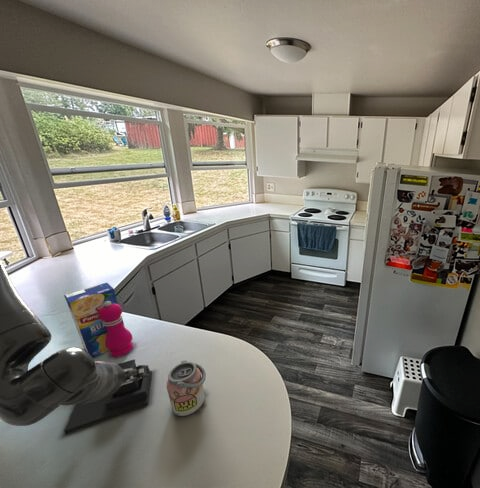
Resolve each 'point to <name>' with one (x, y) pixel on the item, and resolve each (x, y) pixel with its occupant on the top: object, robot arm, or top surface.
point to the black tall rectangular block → (131, 386)
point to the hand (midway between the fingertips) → (120, 380)
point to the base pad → (109, 407)
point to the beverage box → (91, 316)
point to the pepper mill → (115, 330)
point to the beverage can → (186, 387)
